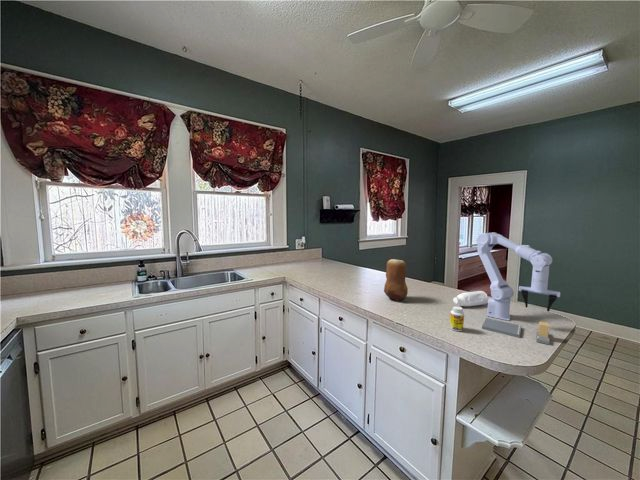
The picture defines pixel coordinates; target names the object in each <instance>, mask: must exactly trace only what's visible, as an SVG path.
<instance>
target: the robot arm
mask: <svg viewBox="0 0 640 480" xmlns="http://www.w3.org/2000/svg"><path fill="white" fill-rule="evenodd" d="M475 241H476V243H477V253H478V256H479V257H480V258H479V259H480V260H481V262H482V265H483V267H484V270H485V271H486V274H487V276H488V278H489V280H490V283H491V284H490V286H489V288H490V295H491V297H488V302H487V308H486V309H487V310H486V312H487V313H486V316H487V317H491V318H495V319H499V320H504V321H508V322H509V321H510V320H511V317H512V316H511V314H510V312H511V298H513V296H514V295H515V293H514V292H515V291H514V289H513V288H512V287H511V286H510V285H509V283H508V281H506V280H504V278H503V276H502V274H501V272H500V269H499V268H498V266H497V263H496V261H495V259H494V257H493V255H492V253H491V251H492V249H493V247H494V246H495V245H501V246H503V247H505V248H507V249H509V250H511V251H514V252H515V253H516V254H515V255H516V256H518V257H520V258H522V259H524V260H526V261H528V262H530V263H531V265H532V273H531V274H532V275H531V282H530V283H531V284H530V286H520V285H519V286H518V291H519V292H520V293H521V295H522V298H523V300H524V304H525V308H528V307H529V306H528V304H529V303H528V302H529V301H528V299H529V298H528V297H529V293H532V294H540V295H546V296H548V299H547V308H546V311H547V312H550V310H551V307H552V305H553V304H554V303H555V302H556V301H557V298H561V292H560V291H558V290H557V291H556V290H552V289H548V285H549V276H550V275H549V274H550V265H552V263H553V257H552V256H551V255H550V254H549V253H546V252H542V251H541V250H536V249H534V248H533V247H531V245H528V244H526V245H525V244H521V245H519V244H517V242H514V241H513V240H510V239H509V238H507V237H505V236H504V235H502V234H500V233H497V232H494V231H493V232H481V233H479V234H478V236H477V238H476V239H475Z"/></svg>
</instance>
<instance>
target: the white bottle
mask: <svg viewBox="0 0 640 480" xmlns="http://www.w3.org/2000/svg"><path fill="white" fill-rule="evenodd" d="M488 300H489V297H488V294H487V293H486V292H485V291H482V290H477V291H475V290H474V291H468V292H462V293H460V294H457V296H456V297H453V298H452V301H453V303H454V304H455V305H456V306H460V307H465V308H468V307H469V308H470V307H476V306H485V305H487V304H488Z"/></svg>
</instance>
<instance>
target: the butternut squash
mask: <svg viewBox="0 0 640 480" xmlns="http://www.w3.org/2000/svg"><path fill="white" fill-rule="evenodd" d="M406 276H407V265H406V261H404V260H402V259H401V260H400V259H396V258H393V259H392V258H391V259H389V260H388V261H387V262H386V272H385V278H386V280H385V283H384V287H383V289H384V290H383V292H384V294H385V295H386V296H387V297H388V298H389V299H392V300H394V301H401V300H404V299H406V297H407V296H408V293H409V291H408V290H409V289H408V288H409V287H408V286H407V282H406Z"/></svg>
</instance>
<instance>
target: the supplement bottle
mask: <svg viewBox="0 0 640 480" xmlns="http://www.w3.org/2000/svg"><path fill="white" fill-rule="evenodd" d="M449 315H450V317H449V318H450V319H449V328H450V329H451V330H452V331H454V332H463V330H464V326H465V325H464V322H465V313H464V312H463V307H462V306H458V305H456V306H453V307H452V310H450V314H449Z"/></svg>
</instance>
